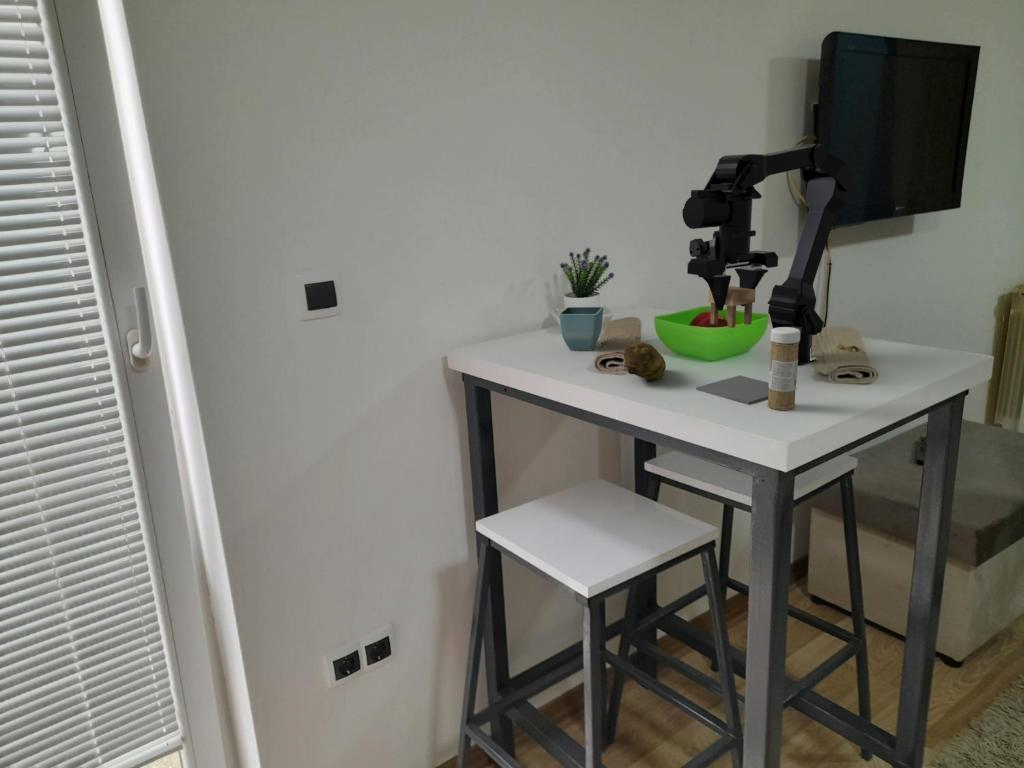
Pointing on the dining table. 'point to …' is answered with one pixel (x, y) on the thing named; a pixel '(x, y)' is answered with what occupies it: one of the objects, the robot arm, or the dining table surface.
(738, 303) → the stool
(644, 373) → the potato
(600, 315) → the flower pot
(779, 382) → the spice jar
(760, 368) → the dining table surface
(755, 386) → the mat
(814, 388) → the dining table surface
